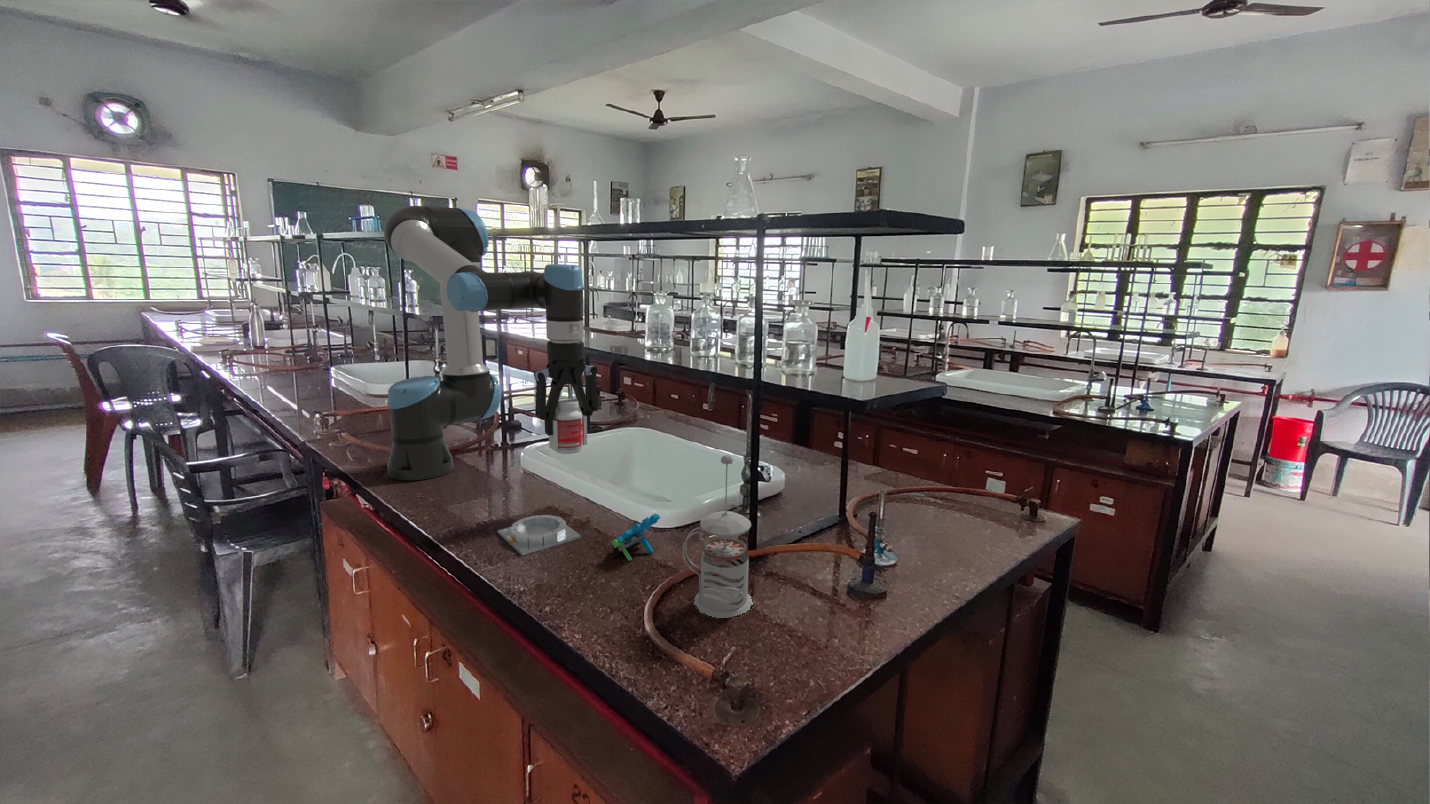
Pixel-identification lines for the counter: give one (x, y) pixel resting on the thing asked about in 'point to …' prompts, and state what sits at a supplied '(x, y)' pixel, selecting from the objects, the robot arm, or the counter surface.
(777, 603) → the counter surface
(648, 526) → the blue knobbed piece
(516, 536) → the duct flange
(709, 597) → the french press
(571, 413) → the pill bottle
